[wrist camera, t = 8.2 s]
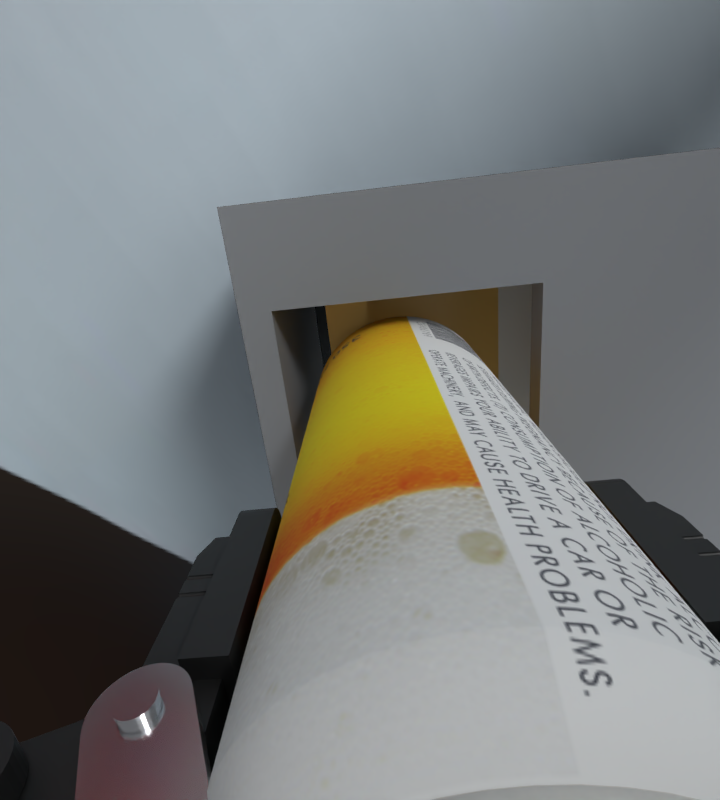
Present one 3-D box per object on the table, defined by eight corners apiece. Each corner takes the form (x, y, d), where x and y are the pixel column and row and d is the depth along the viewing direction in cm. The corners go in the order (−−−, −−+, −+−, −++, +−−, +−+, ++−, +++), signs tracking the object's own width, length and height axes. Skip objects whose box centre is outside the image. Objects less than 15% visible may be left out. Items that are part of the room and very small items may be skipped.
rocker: (649, 231, 20) (708, 232, 17) (628, 424, 23) (675, 454, 20) (320, 270, 19) (321, 279, 16) (346, 464, 22) (351, 501, 19)
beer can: (298, 434, 18) (91, 1112, 4) (353, 286, 16) (294, 674, 2) (440, 483, 19) (648, 1199, 5) (509, 347, 17) (1163, 920, 3)
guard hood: (670, 166, 21) (903, 125, 12) (639, 443, 26) (787, 565, 17) (280, 212, 22) (216, 207, 13) (320, 470, 27) (295, 600, 18)
